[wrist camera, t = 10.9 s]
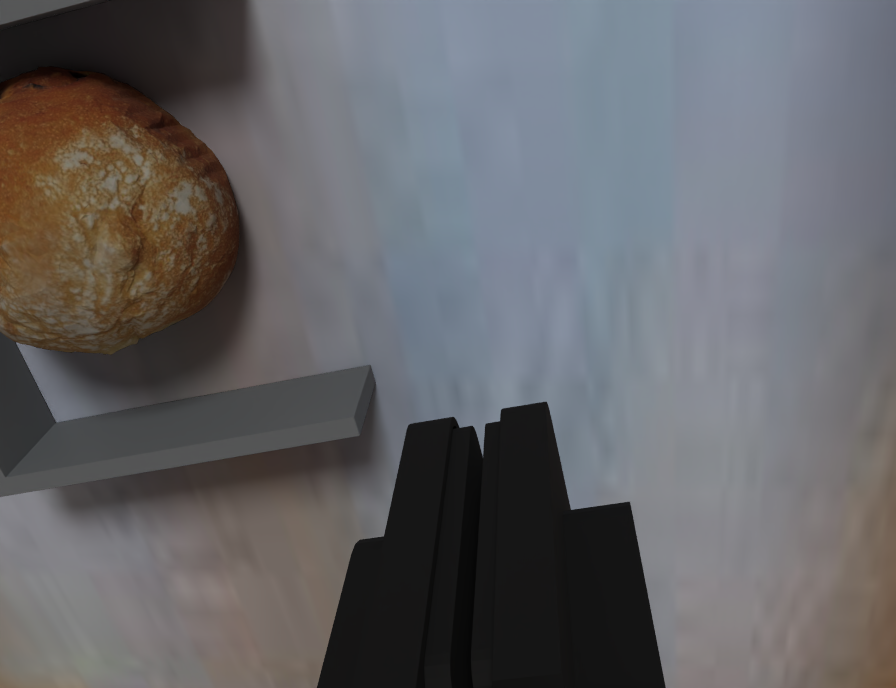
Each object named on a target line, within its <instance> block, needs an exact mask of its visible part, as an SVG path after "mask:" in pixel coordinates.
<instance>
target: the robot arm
mask: <svg viewBox="0 0 896 688" xmlns="http://www.w3.org/2000/svg"><path fill="white" fill-rule="evenodd" d="M317 688H666V687H665V682H664V677H663V672H662V666H661V661H660V656H659V651H658V646H657V640H656V635H655V630H654V625H653V620H652V614H651V609H650V604H649V599H648V593H647V588H646V583H645V578H644V573H643V567H642V562H641V557H640V552H639V546H638V541H637V536H636V531H635V526H634V520H633V515H632V510H631V505H630V502H624V503H617V504H610V505H603V506H596V507H589V508H582V509H575V510H571V508H570V504H569V499H568V494H567V490H566V485H565V480H564V476H563V471H562V466H561V462H560V457H559V452H558V448H557V443H556V438H555V434H554V429H553V424H552V420H551V415H550V411H549V407H548V404H547V402H541V403H535V404H529V405H523V406H517V407H510V408H504V409H502V410H501V418H500V421H499V422H493V423H487V424H486V425H485V437H484V453H483V456H482V453H481V449H480V445H479V441H478V437H477V434H476V431H475V429H474V427H473V426H468V427H462V428H459V425H458V423H457V421H456V419H455V418H454V417H449V418H443V419H437V420H431V421H425V422H419V423H413V424H410V425H408V428H407V432H406V436H405V441H404V446H403V450H402V455H401V460H400V464H399V469H398V474H397V478H396V483H395V488H394V493H393V497H392V502H391V507H390V511H389V516H388V521H387V525H386V530H385V535H384V537H377V538H370V539H363V540H359V541H358V542H357V543H356V544H355V546H354V549H353V551H352V554H351V558H350V562H349V566H348V570H347V573H346V577H345V581H344V585H343V589H342V593H341V597H340V601H339V604H338V608H337V612H336V616H335V620H334V624H333V628H332V631H331V635H330V639H329V643H328V647H327V651H326V655H325V659H324V662H323V666H322V670H321V674H320V678H319V682H318V686H317Z"/></svg>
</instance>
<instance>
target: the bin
mask: <svg viewBox="0 0 896 688" xmlns="http://www.w3.org/2000/svg"><path fill="white" fill-rule="evenodd" d="M106 1H110V0H0V30H3V29H6V28H10V27H14V26H17V25H21V24H25V23H29V22H32V21H36V20H40V19H43V18H47V17H51V16H55V15H58V14H62V13H66V12H69V11H73V10H77V9H80V8H84V7H88V6H92V5H95V4H99V3H103V2H106ZM375 383H376V382H375V379H374V375H373V372H372V369H371V366H370V365H368V366H363V367H357V368H352V369H346V370H341V371H335V372H330V373H324V374H319V375H314V376H308V377H303V378H297V379H292V380H286V381H281V382H275V383H270V384H265V385H259V386H254V387H248V388H243V389H237V390H232V391H227V392H221V393H216V394H210V395H205V396H199V397H194V398H188V399H183V400H178V401H172V402H167V403H161V404H156V405H150V406H145V407H139V408H134V409H129V410H123V411H118V412H112V413H107V414H101V415H96V416H91V417H85V418H80V419H74V420H69V421H63V422H58V423H56V422H55V420H54V418H53V416H52V414H51V413H50V411H49V409H48V407H47V405H46V403H45V401H44V399H43V397H42V395H41V393H40V391H39V389H38V387H37V385H36V383H35V381H34V379H33V377H32V375H31V373H30V371H29V369H28V367H27V365H26V363H25V361H24V359H23V357H22V355H21V353H20V351H19V349H18V347H17V345H16V343H15V341H13V340H11V339H9V338H8V337H6V336H5V335H4V334H2V333H1V332H0V497H3V496H9V495H15V494H21V493H26V492H32V491H38V490H44V489H50V488H56V487H62V486H68V485H73V484H79V483H85V482H91V481H97V480H103V479H109V478H115V477H120V476H126V475H132V474H138V473H144V472H150V471H156V470H162V469H167V468H173V467H179V466H185V465H191V464H197V463H203V462H209V461H214V460H220V459H226V458H232V457H238V456H244V455H250V454H256V453H261V452H267V451H273V450H279V449H285V448H291V447H297V446H303V445H308V444H314V443H320V442H326V441H332V440H338V439H344V438H350V437H355V436H360V434H361V430H362V427H363V423H364V420H365V417H366V413H367V410H368V406H369V403H370V400H371V396H372V393H373V390H374V386H375Z"/></svg>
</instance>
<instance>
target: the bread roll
mask: <svg viewBox="0 0 896 688" xmlns="http://www.w3.org/2000/svg"><path fill="white" fill-rule="evenodd" d="M238 248H239V215H238V209H237V206H236V202H235V199H234V195H233V192H232V189H231V186H230V183H229V181H228V178H227V175H226V172H225V170H224V168H223V167H222V165H221V163H220V162H219V160H218V159H217V157H216V156H215V154H214V153H213V152H212V151H211V150H210V149H209V148H208V147H207V146H206V144H205V143H203V142H202V141H201V140H199V139H198V138H196V136H195V135H194V134H193V133H192V132H191V130H190V129H188V128H186V127H184V126H182V125H180V123H179V122H178V121H177V120H176V119H175V118H174V117H173V116H172V115H171V114H169V113H168V112H166V111H165V110H163V109H162V108H161V107H159V106H158V105H156V104H155V103H154V102H153V101H151V100H150V99H149V98H148V97H146V96H145V95H143V94H142V93H140V92H139V91H137V90H136V89H134V88H133V87H131V86H130V85H128V84H125V83H121V82H118V81H116V80H114V79H112V78H111V77H109V76H106V75H104V74H102V73H97V72H91V71H73V70H68V69H63V68H59V67H38V69H37V70H33V71H30V72H26V73H23V74H21V75H19V76H18V77H15V78H11V79H8V80H6V81H4V82H2V83H0V332H1V333H2V334H4V335H5V336H6V337H8V338H9V339H11V340H13V341H15V342H18V343H21V344H26V345H31V346H34V347H38V348H42V349H48V350H56V351H63V352H71V353H72V352H75V351H76V352H84V353H103V354H109V355H112V354H113V353H115V352H117V351H118V350H120V349H123V348H125V347H127V346H130V345H133V344H137V342H138V340H139V339H140V338H145V337H147V336H148V335H150V334H152V333H155V332H158V331H162V330H163V329H165V328H167V327H168V326H171V325H173V324H175V323H177V322H178V321H181V320H183V319H186V318H188V317H190V316H191V315H193V314H195V313H197V312H198V311H200V310H202V309H203V308H204V307H206V306H207V305H208V304H209V303H210V302H211V301H212V300H213V299H214V298H215V297H216V296H217V295H218V293H219V292H220V290H221V289H222V287H223V286H224V284H225V283H226V281H227V279H228V278H229V276H230V274H231V272H232V270H233V268H234V265H235V263H236V260H237V254H238Z"/></svg>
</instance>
